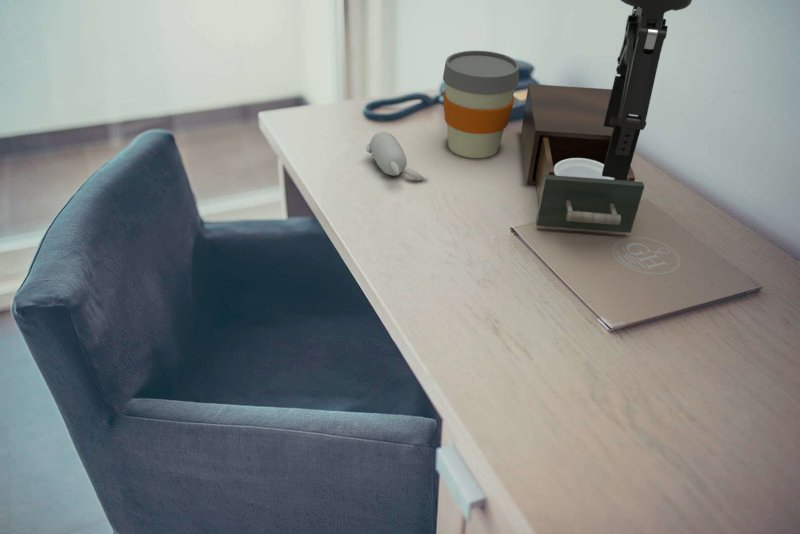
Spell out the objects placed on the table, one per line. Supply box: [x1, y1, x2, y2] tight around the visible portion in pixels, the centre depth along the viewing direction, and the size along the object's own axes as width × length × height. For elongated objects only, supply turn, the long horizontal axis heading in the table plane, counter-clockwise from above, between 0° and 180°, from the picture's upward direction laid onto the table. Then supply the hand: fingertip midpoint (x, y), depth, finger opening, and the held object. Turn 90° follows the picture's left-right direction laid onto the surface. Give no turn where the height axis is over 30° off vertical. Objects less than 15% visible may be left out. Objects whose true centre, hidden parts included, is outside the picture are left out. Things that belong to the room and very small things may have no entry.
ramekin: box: [554, 158, 615, 180], centre depth 96 cm, size 9×9×4 cm
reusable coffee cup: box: [442, 50, 520, 159], centre depth 110 cm, size 13×13×15 cm
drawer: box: [534, 135, 645, 234], centre depth 95 cm, size 22×13×8 cm, turn 174°
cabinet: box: [520, 83, 613, 186], centre depth 108 cm, size 19×15×10 cm
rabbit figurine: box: [366, 130, 424, 181], centre depth 105 cm, size 6×5×12 cm
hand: (614, 150), depth 78 cm, fingers open, 13 cm apart
